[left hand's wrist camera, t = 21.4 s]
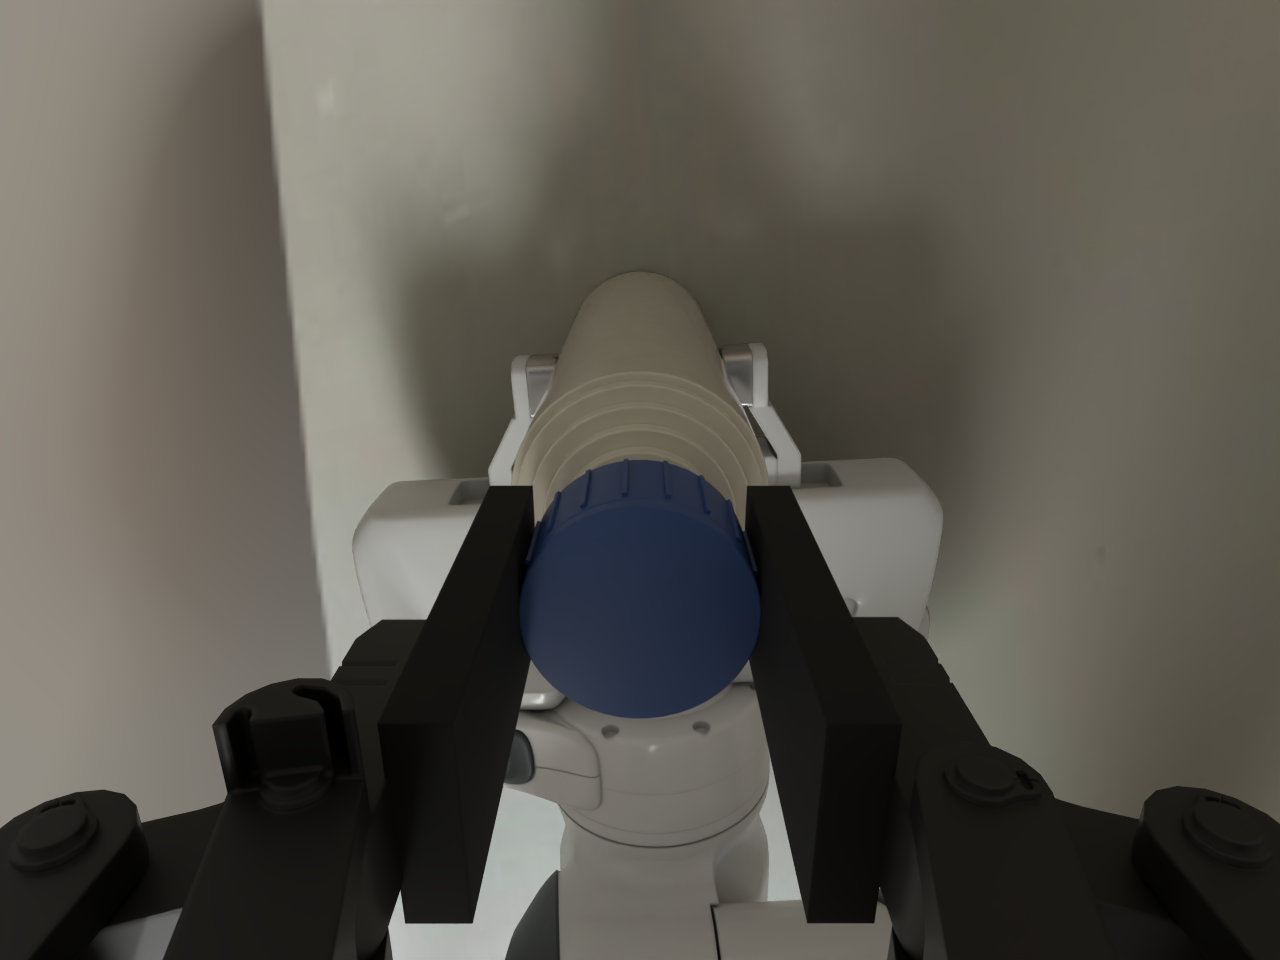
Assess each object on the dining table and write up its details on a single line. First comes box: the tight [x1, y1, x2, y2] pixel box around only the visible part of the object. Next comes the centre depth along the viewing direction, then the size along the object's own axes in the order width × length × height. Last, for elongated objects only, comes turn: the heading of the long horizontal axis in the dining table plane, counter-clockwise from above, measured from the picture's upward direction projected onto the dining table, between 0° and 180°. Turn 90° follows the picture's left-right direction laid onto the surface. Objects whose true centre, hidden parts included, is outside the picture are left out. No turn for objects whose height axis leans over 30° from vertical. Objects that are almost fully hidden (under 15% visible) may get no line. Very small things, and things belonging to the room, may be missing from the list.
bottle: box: [511, 272, 769, 531], centre depth 23 cm, size 6×6×21 cm
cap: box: [519, 459, 761, 719], centre depth 14 cm, size 4×4×2 cm
